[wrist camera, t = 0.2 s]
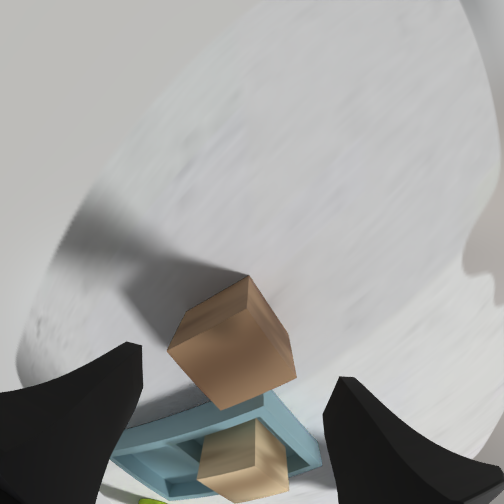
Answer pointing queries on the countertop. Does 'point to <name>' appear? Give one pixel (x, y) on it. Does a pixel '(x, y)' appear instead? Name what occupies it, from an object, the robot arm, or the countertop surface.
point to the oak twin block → (244, 463)
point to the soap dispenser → (150, 501)
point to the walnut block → (233, 346)
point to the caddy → (191, 443)
